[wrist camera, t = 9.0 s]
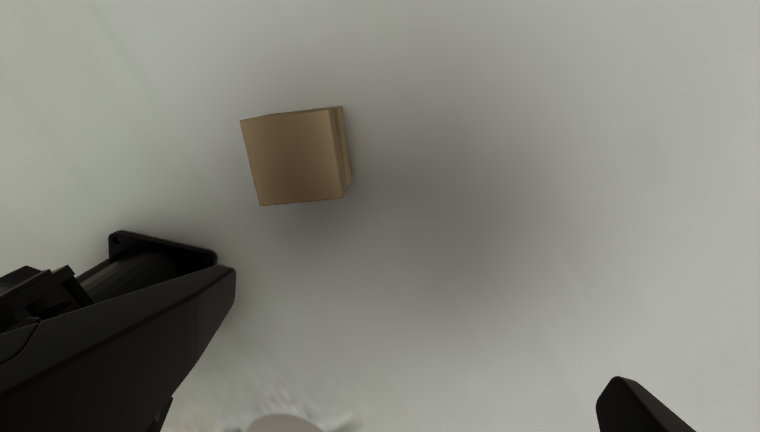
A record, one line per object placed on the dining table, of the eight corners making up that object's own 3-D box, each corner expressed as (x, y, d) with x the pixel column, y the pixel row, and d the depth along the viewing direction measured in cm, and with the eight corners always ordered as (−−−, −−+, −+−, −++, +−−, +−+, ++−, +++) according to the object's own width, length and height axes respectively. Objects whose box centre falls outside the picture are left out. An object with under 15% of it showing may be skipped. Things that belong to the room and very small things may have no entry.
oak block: (284, 185, 21) (259, 206, 17) (270, 114, 20) (239, 120, 16) (352, 177, 20) (342, 198, 17) (341, 105, 19) (328, 110, 15)
